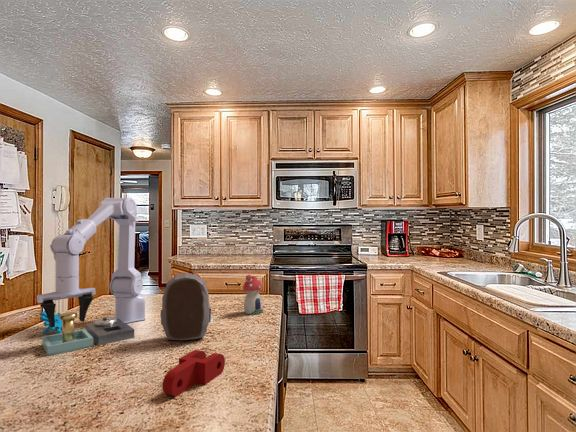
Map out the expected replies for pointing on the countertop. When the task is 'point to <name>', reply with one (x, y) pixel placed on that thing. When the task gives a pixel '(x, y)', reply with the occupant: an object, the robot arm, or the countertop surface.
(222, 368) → the mechanical linkage
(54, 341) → the pin tray
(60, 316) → the pin
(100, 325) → the grey flat block
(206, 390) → the countertop surface
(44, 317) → the gear
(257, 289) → the decorative ornament
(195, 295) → the small grey backpack
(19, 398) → the countertop surface
